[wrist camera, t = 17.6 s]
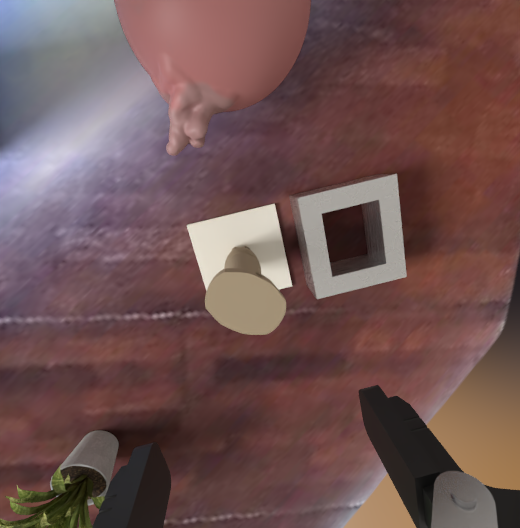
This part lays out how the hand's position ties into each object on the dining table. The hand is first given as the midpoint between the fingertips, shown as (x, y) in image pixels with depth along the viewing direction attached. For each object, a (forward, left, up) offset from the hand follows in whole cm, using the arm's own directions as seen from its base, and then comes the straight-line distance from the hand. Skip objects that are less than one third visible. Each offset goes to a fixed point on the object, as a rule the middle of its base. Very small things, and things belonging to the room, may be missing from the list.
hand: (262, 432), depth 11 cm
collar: (0, +13, -28) cm, 31 cm away
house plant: (+22, -26, -28) cm, 44 cm away
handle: (0, 0, -28) cm, 28 cm away
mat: (0, 0, -28) cm, 28 cm away
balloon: (-21, +2, -28) cm, 35 cm away
